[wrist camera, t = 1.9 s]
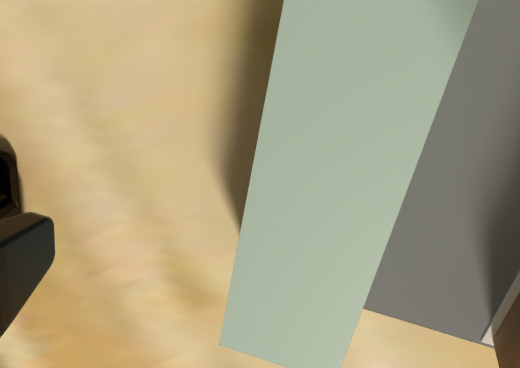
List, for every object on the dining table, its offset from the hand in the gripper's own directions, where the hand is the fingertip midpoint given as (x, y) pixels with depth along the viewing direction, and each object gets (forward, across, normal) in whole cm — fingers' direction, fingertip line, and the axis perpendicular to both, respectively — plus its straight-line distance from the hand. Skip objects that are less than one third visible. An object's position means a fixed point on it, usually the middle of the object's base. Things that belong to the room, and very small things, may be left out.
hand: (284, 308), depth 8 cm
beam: (+9, 0, 0) cm, 9 cm away
